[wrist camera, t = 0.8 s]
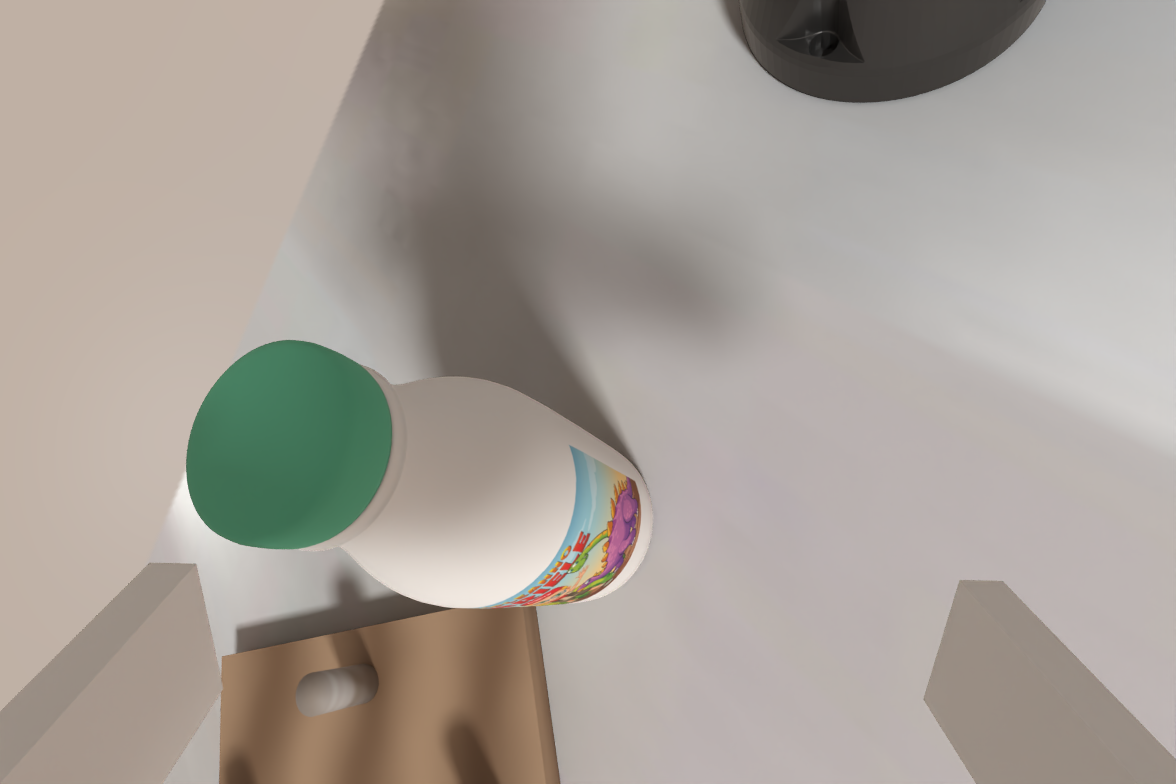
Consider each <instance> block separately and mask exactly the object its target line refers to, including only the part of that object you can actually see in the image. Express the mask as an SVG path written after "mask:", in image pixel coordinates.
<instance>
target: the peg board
mask: <svg viewBox="0 0 1176 784" xmlns="http://www.w3.org/2000/svg"><path fill="white" fill-rule="evenodd" d="M221 680H222V685H223V690H222V692H221V723H220V772H219V784H560V778H559V771H558V763H557V756H556V749H555V742H554V735H553V727H552V720H551V713H550V706H549V699H548V691H547V684H546V677H545V670H544V663H543V656H542V648H541V641H540V634H539V627H538V620H537V612H536V606H528V607H509V608H486V609H477V608H454V609H450V610H445V611H440V612H435V613H430V614H425V615H421V616H416V617H411V618H406V619H401V620H396V621H392V622H387V623H382V624H377V625H372V626H367V627H363V628H358V629H353V630H348V631H343V632H338V633H334V634H329V635H324V636H319V637H314V638H309V639H305V640H300V641H295V642H290V643H285V644H280V645H276V646H271V647H266V648H261V649H256V650H251V651H246V652H242V653H237V654H232V655H227V656H222V675H221Z"/></svg>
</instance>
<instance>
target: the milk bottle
mask: <svg viewBox="0 0 1176 784" xmlns="http://www.w3.org/2000/svg"><path fill="white" fill-rule="evenodd" d="M186 472H187V483H188V489H189V493H190V497H191V499H192V502H193V505H194V507H195V509H196V511H197V513H198V514H199V516H200V518H201V519H202V520H203V521H204V523H205V524H206V525H207V526H208V527H209V528H210V529H211V530H212V531H214V532H215V533H217V534H218V535H220V536H222V537H224V538H226V539H228V540H230V541H232V542H235V543H238V544H241V545H245V546H251V547H259V548H267V549H299V550H304V551H323V550H328V549H332V548H335V547H340V548H342V549H343V550H345V551H346V552H347V553H348V554H349V555H350V556H351V557H352V558H353V559H354V560H355V561H356V562H357V563H358V564H359V565H360V566H361V567H362V568H363V569H364V570H366V571H367V572H368V573H369V574H370V575H371V576H372V577H374V578H375V579H376V580H377V581H379V582H380V583H382V584H383V585H385V586H387V587H388V588H390V589H392V590H393V591H395V592H397V593H399V594H401V595H404V596H406V597H409V598H411V599H414V600H417V601H420V602H423V603H427V604H432V605H437V606H442V607H449V608H477V609H486V608H509V607H528V606H543V605H557V604H569V603H579V602H585V601H590V600H594V599H598V598H601V597H603V596H606V595H608V594H610V593H612V592H613V591H615V590H616V589H618V588H619V587H620V586H622V585H623V584H624V583H625V582H626V581H627V580H628V579H630V577H631V576H632V575H633V574H634V573H635V571H636V570H637V569H638V567H639V566H640V564H641V562H642V560H643V559H644V557H645V554H646V552H647V550H648V547H649V544H650V540H651V535H652V528H653V510H652V503H651V499H650V495H649V492H648V489H647V486H646V484H645V482H644V480H643V478H642V477H641V475H640V473H639V472H638V471H637V469H636V468H635V467H634V466H633V465H632V464H631V462H630V461H628V460H627V459H626V458H625V457H624V456H623V455H621V454H620V453H619V452H617V451H616V450H615V449H613V448H612V447H610V446H609V445H607V444H606V443H604V442H603V441H601V440H600V439H598V438H596V437H595V436H593V435H592V434H590V433H589V432H587V431H586V430H584V429H582V428H581V427H579V426H578V425H576V424H575V423H573V422H571V421H570V420H568V419H566V418H565V417H563V416H561V415H560V414H558V413H557V412H555V411H553V410H552V409H550V408H548V407H547V406H545V405H543V404H542V403H540V402H538V401H536V400H534V399H532V398H530V397H529V396H527V395H525V394H523V393H521V392H519V391H517V390H515V389H512V388H510V387H507V386H504V385H501V384H498V383H495V382H492V381H489V380H484V379H478V378H472V377H462V376H446V377H435V378H428V379H422V380H418V381H414V382H410V383H405V384H400V385H391V384H390V383H389V382H388V381H387V380H386V379H385V378H384V377H383V376H382V375H381V374H379V373H378V372H376V371H375V370H373V369H371V368H369V367H366V366H363V365H360V364H358V363H356V362H355V361H353V360H351V359H349V358H347V357H346V356H344V355H342V354H340V353H338V352H336V351H333V350H331V349H328V348H326V347H323V346H321V345H318V344H315V343H311V342H305V341H296V340H283V341H276V342H272V343H269V344H265V345H263V346H260V347H258V348H256V349H254V350H252V351H250V352H249V353H247V354H246V355H244V356H243V357H241V358H240V359H239V360H237V361H236V362H235V363H234V364H233V365H232V366H230V367H229V368H228V369H227V370H226V371H225V372H224V374H223V375H222V376H221V377H220V378H219V379H218V380H217V382H216V383H215V384H214V386H213V387H212V388H211V390H210V391H209V393H208V395H207V396H206V398H205V400H204V401H203V403H202V405H201V407H200V409H199V411H198V413H197V416H196V418H195V421H194V424H193V427H192V430H191V434H190V438H189V443H188V449H187V459H186Z"/></svg>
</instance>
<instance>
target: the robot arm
mask: <svg viewBox="0 0 1176 784" xmlns="http://www.w3.org/2000/svg"><path fill="white" fill-rule="evenodd" d="M1045 2H1046V0H739V4H740V11H741V18H742V25H743V30H744V34H745V37H746V40H747V42H748V45H749V47H750V49H751V51H752V53H753V54H754V56H755V57H756V59H757V60H758V61H759V62H760V64H761V65H762V66H763V67H764V68H765V69H766V70H767V71H768V72H769V73H770V74H772V75H773V76H774V77H775V78H777V79H778V80H780V81H781V82H783V83H784V84H786V85H788V86H790V87H792V88H794V89H796V90H798V91H801V92H803V93H806V94H809V95H812V96H815V97H819V98H823V99H828V100H834V101H842V102H862V103H865V102H881V101H890V100H897V99H902V98H907V97H912V96H916V95H919V94H923V93H926V92H929V91H932V90H935V89H938V88H941V87H943V86H946V85H948V84H951V83H953V82H955V81H957V80H960V79H962V78H964V77H966V76H967V75H969V74H971V73H973V72H975V71H976V70H978V69H980V68H981V67H983V66H985V65H986V64H988V63H989V62H990V61H992V60H993V59H995V58H996V57H997V56H999V55H1000V54H1001V53H1003V52H1004V51H1005V50H1006V49H1007V48H1008V47H1010V46H1011V45H1012V44H1013V43H1014V42H1015V41H1016V40H1017V39H1018V38H1019V37H1020V36H1021V35H1022V34H1023V33H1024V32H1025V31H1026V29H1027V28H1028V27H1029V26H1030V25H1031V23H1032V22H1033V21H1034V19H1035V18H1036V17H1037V15H1038V14H1039V12H1040V10H1041V9H1042V7H1043V5H1044V4H1045ZM222 690H223V685H222V680H221V676H220V671H219V666H218V662H217V657H216V653H215V648H214V643H213V639H212V634H211V630H210V625H209V620H208V616H207V611H206V607H205V602H204V597H203V593H202V588H201V583H200V579H199V574H198V570H197V565H196V564H180V563H149V564H148V565H147V566H146V567H145V568H144V569H143V570H142V571H141V572H140V573H139V574H138V575H137V576H136V577H135V578H134V579H133V580H132V581H131V582H130V583H129V584H128V585H127V586H126V587H125V588H124V589H123V590H122V591H121V592H120V593H119V594H118V595H117V596H116V597H115V598H114V599H113V600H112V601H111V602H110V603H109V604H108V605H107V606H106V607H105V608H104V609H103V610H102V611H101V612H100V613H99V614H98V615H97V616H96V617H95V618H94V619H93V620H92V621H91V622H90V623H89V624H88V625H87V626H86V627H85V628H84V629H83V630H82V631H81V632H80V633H79V634H78V635H77V636H76V637H75V638H74V639H73V640H72V641H71V642H70V643H69V644H68V645H67V646H66V647H65V648H64V649H63V650H62V651H61V652H60V653H59V654H58V655H57V656H56V657H55V658H54V659H53V660H52V661H51V662H50V663H49V664H48V665H47V666H46V667H45V668H44V669H43V670H42V671H41V672H40V673H39V674H38V675H37V676H35V678H33V680H31V681H30V682H29V683H28V684H27V685H26V686H25V687H24V688H23V690H21V691H20V692H19V693H18V694H17V696H15V697H14V698H13V699H12V700H11V701H10V702H9V703H8V704H7V705H6V706H5V707H4V708H3V709H2V710H1V711H0V784H163V782H164V781H165V779H166V778H167V776H168V774H169V773H170V771H171V770H172V768H173V767H174V765H175V763H176V762H177V760H178V759H179V757H180V756H181V754H182V753H183V751H184V749H185V748H186V746H187V745H188V743H189V742H190V740H191V738H192V737H193V735H194V734H195V732H196V731H197V729H198V728H199V726H200V724H201V723H202V721H203V720H204V718H205V717H206V715H207V713H208V712H209V710H210V709H211V707H212V706H213V704H214V703H215V701H216V699H217V698H218V696H219V695H220V693H221V692H222ZM924 701H925V703H926V704H927V706H928V707H929V709H930V711H931V712H932V714H933V715H934V717H935V719H936V720H937V722H938V723H939V725H940V727H941V728H942V730H943V731H944V733H945V735H946V736H947V738H948V739H949V741H950V743H951V744H952V746H953V747H954V749H955V751H956V752H957V754H958V755H959V757H960V759H961V760H962V762H963V763H964V765H965V767H966V768H967V770H968V771H969V773H970V775H971V776H972V778H973V779H974V781H975V783H976V784H1176V759H1175V758H1174V757H1173V756H1172V755H1171V754H1170V753H1169V752H1168V751H1167V750H1166V749H1165V748H1164V747H1163V746H1162V745H1161V744H1160V743H1159V742H1158V741H1157V740H1156V739H1155V737H1154V736H1153V735H1152V734H1151V733H1150V732H1149V731H1148V730H1147V729H1146V728H1145V727H1144V726H1143V725H1142V724H1141V723H1140V722H1139V721H1138V720H1137V719H1136V718H1135V717H1134V716H1133V715H1132V714H1131V713H1130V712H1129V711H1128V710H1127V709H1126V708H1125V707H1124V706H1123V705H1122V704H1121V702H1120V701H1119V700H1118V699H1117V698H1116V697H1115V696H1114V695H1113V694H1112V693H1111V692H1110V691H1109V690H1108V689H1107V688H1106V687H1105V686H1104V685H1103V684H1102V683H1101V682H1100V681H1099V680H1098V679H1097V678H1096V677H1095V676H1094V675H1093V674H1092V673H1091V672H1090V671H1089V670H1088V669H1087V668H1086V666H1085V665H1084V664H1083V663H1082V662H1081V661H1080V660H1079V659H1078V658H1077V657H1076V656H1075V655H1074V654H1073V653H1072V652H1071V651H1070V650H1069V649H1068V648H1067V647H1066V646H1065V645H1064V644H1063V643H1062V642H1061V641H1060V640H1059V639H1058V638H1057V637H1056V636H1055V635H1054V634H1053V633H1052V632H1051V630H1050V629H1049V628H1048V627H1047V626H1046V625H1045V624H1044V623H1043V622H1042V621H1041V620H1040V619H1039V618H1038V617H1037V616H1036V615H1035V614H1034V613H1033V612H1032V611H1031V610H1030V609H1029V608H1028V607H1027V606H1026V605H1025V604H1024V603H1023V602H1022V601H1021V600H1020V599H1019V598H1018V597H1017V595H1016V594H1015V593H1014V592H1013V591H1012V590H1011V589H1010V588H1009V587H1008V586H1007V585H1006V584H1005V583H1004V582H1003V581H976V580H960V581H959V584H958V587H957V591H956V594H955V597H954V601H953V604H952V607H951V610H950V614H949V617H948V620H947V624H946V627H945V630H944V633H943V637H942V640H941V643H940V647H939V650H938V653H937V656H936V660H935V663H934V666H933V670H932V673H931V676H930V679H929V683H928V686H927V689H926V693H925V696H924Z"/></svg>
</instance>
